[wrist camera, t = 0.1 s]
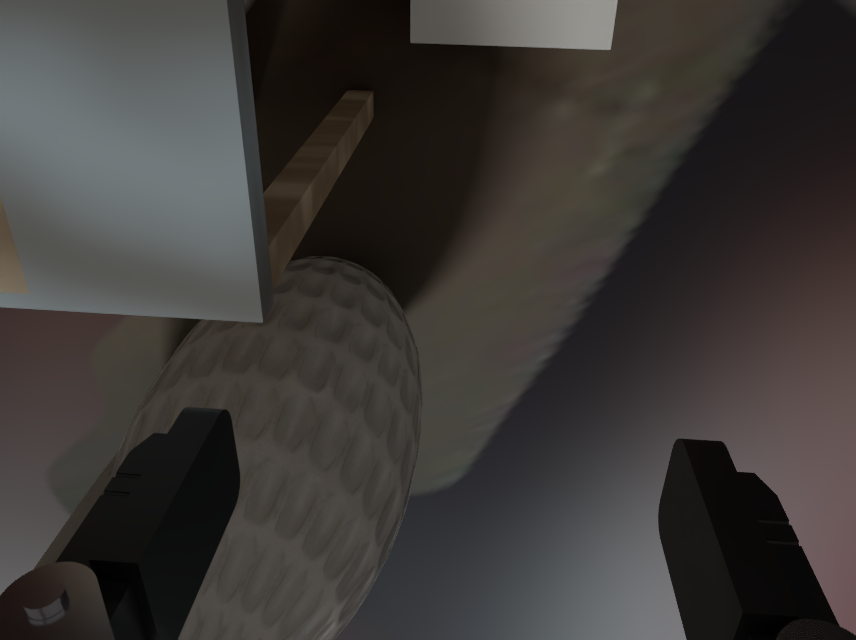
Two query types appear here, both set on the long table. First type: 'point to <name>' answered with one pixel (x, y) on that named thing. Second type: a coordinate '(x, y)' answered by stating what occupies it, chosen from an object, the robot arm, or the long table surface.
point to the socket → (514, 23)
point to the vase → (300, 449)
